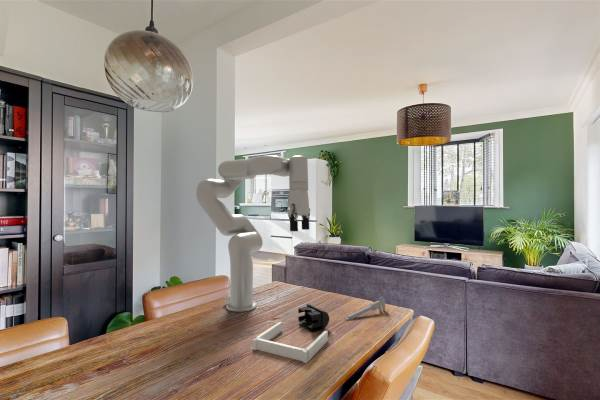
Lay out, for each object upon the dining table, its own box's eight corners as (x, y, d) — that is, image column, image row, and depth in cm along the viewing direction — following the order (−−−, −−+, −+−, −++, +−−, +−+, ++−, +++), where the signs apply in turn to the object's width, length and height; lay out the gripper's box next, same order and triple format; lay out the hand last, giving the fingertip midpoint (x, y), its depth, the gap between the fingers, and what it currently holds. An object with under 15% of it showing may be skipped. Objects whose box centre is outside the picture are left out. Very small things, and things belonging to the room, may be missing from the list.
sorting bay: (252, 349, 93) (252, 339, 93) (279, 330, 107) (279, 321, 107) (306, 363, 85) (306, 352, 85) (327, 340, 99) (327, 331, 99)
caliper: (383, 311, 128) (383, 296, 128) (385, 311, 127) (385, 296, 127) (344, 320, 117) (344, 303, 117) (346, 321, 116) (346, 304, 116)
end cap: (329, 329, 108) (329, 310, 108) (313, 333, 104) (313, 313, 105) (313, 320, 117) (313, 302, 117) (297, 324, 113) (297, 305, 113)
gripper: (300, 188, 131) (301, 228, 131) (279, 186, 116) (280, 231, 116) (316, 187, 128) (317, 228, 127) (296, 185, 113) (297, 232, 112)
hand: (300, 230), depth 121 cm, fingers open, 9 cm apart
